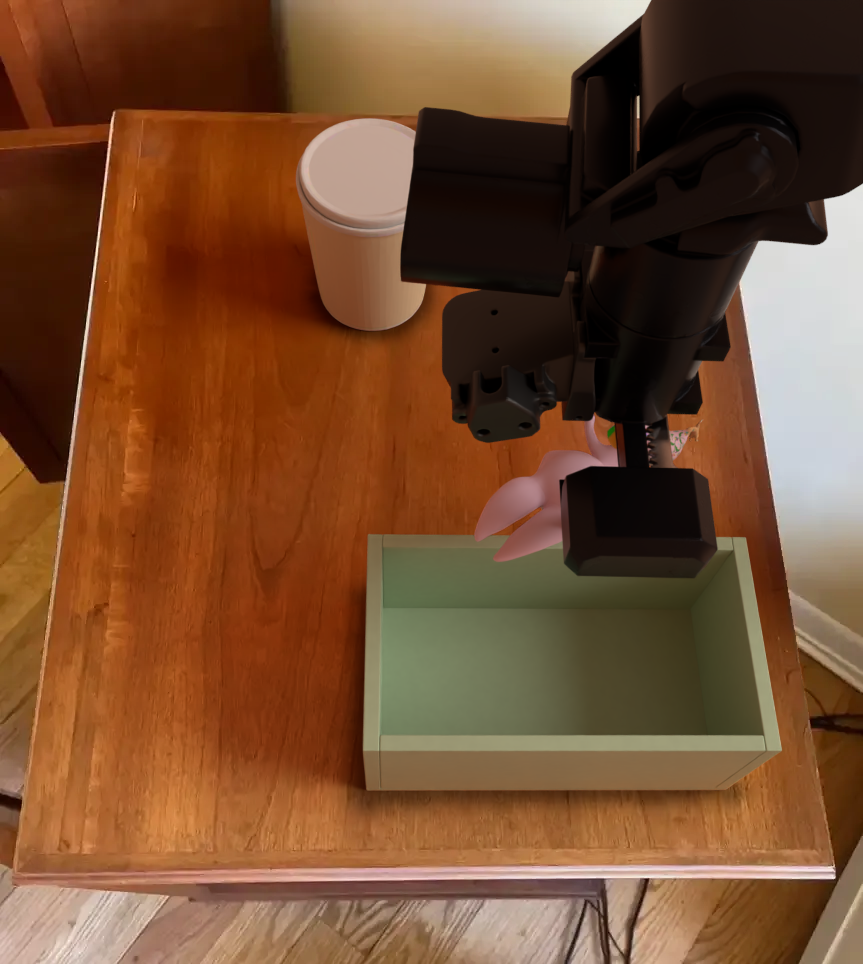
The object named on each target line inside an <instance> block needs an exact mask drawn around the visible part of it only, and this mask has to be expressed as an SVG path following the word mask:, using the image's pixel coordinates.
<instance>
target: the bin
mask: <svg viewBox="0 0 863 964" xmlns="http://www.w3.org/2000/svg"><path fill="white" fill-rule="evenodd" d="M511 535H512V534H492V535H490V536H488V537H487V538H485V539H483V540H481V541H479V542H477V541H476V540H475V537H474V534H410V533H409V534H404V533H403V534H402V533H401V534H399V533H397V534H395V533H394V534H393V533H391V534H390V533H389V534H388V533H384V534H382V533H368V534H367V548H366V551H367V553H366V585H365V586H366V587H365V588H366V591H365V594H366V595H365V628H364V629H365V630H364V631H365V633H364V634H365V635H364V636H365V638H364V673H363V674H364V677H363V678H364V681H363V715H362V716H363V717H362V718H363V720H362V721H363V722H362V723H363V724H362V757H363V768H364V769H363V770H364V781H365V789H366V791H727V790H728V789H730V787H732V786H734V785H735V784H736V783H737V782H739V781H740V780H742V779H743V778H746V776H748V775H750V774H751V773H752V772H754V771H755V770H757V769H758V768H760V767H761V766H763V764H765V763H767V762H768V761H769V760H771V759H773V758H774V757H775V756H777V755H778V754H780V753H782V751H783V749H782V742H781V735H780V731H779V724H778V720H777V719H778V717H777V713H776V707H775V701H774V696H773V688H772V684H771V678H770V673H769V665H768V661H767V655H766V654H767V653H766V649H765V643H764V637H763V631H762V624H761V619H760V613H759V607H758V602H757V596H756V590H755V584H754V578H753V571H752V567H751V561H750V555H749V548H748V543H747V537H745V536H732V537H731V536H716V540H717V547H718V550H717V551H716V553H715V554H714V556H713V557H712V559H711V560H710V561H709V563H708V564H707V566H706V567H705V568H704V569H703V570H702V571H701V572H700V573H699V574H698V575H697V576H696V577H695V578H649V577H602V576H577V575H576V574H575V573H574V572H572V571H571V570H570V569H569V568H568V567H567V566H566V565H565V564H564V559H563V542H562V541H561V542H559V543H557V544H554V545H552V546H549V547H547V548H545V549H542V550H540V551H537V552H534V553H531V554H528V555H525V556H522V557H519V558H516V559H513V560H509V561H504V562H496V561H494V560H493V557H494V555H495V554H496V553H497V552H498V551H499V550H500V548H501V547H502V546H503V545H504V543H505V542H506V541H507V539H508V538H509V537H510V536H511Z"/></svg>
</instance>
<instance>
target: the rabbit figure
mask: <svg viewBox="0 0 863 964" xmlns="http://www.w3.org/2000/svg"><path fill="white" fill-rule="evenodd" d="M595 421H596V416H595V415H594V416H593V418H592V420H590V421H583V423H584V436H585V440H586V444H587V447H588V450H589V452H590V453H588V452H585V451H580V450H577V449H576V450H575V449H554V450H549V451H547V452H546V453H545V454H544V455H543V457H542V459H541V461H540V464H539V466H538V468H537V470H536V472H535V473H534V474H533V475H529V476H519V477H514V478H512V479H510V480H509V481H507V482H505V483H504V484H503V485H502V486H501V487H499V488H498V489H497V490H496V491H495V492H494V493H493V494H492V495H491V496H490V497H489V499H488V501H487V502H486V503H485V505H484V508H483V509H482V512H481V514H480V516H479V518H478V521H477V524H476V527H475V530H474V534H473V535H474V537H475V540H476V541H477V542H479V541H481V540H483V539H485V538H487V537H488V536H490V535H495V534H497V533H498V532H500V531H503V530H504V529H506V528H508V527H510V526H511V525H513V524H514V523H516V522H517V521H519V520H521V519H523V518H524V517H526V516H528V515H529V514H531V513H533V511H535V510H536V509H539V508H540V509H541V510H539V511H538V512H536V513H535V514H534V515H533V516H532V517H530V518H529V519H528V520H527V521H525V522H524V523H523V524H521V525H520V526H519V527H518V528H516V529H515V530H514V531H513V532H512V533H511V534H510V535H511V536H510V537H509V538H508V539H507V541H506V542H505V543H504V545H503V546H502V547H501V548H500V550H499V551H498V552H497V553H496V554H495V555H494V557H493V560H494V561H496V562H504V561H509V560H513V559H516V558H519V557H522V556H525V555H528V554H531V553H534V552H537V551H540V550H542V549H545V548H547V547H549V546H552V545H554V544H557V543H559V542H561V541H562V525H561V503H560V486H559V480H560V479H565V477H566V475H569V474H571V473H574V472H577V471H579V470H582V469H584V468H587V467H589V466H614V467H618V459H617V448H616V437H615V426H614V425H611V427H610V428H609V429H608V430H607V431H606V437H607V441H608V442H609V444H604V443H602V442H601V441H600V440H599V438H598V436H597V434H596V431H595ZM703 421H704V419H703V418H702V419H700V420H699V421H698V423H697V424H695V425H694V426H692V427H690V426H689V427H687V428H686V429H677V430H669V433H670V441H671V450H672V458H673V461H674V460H676V459H677V458H678V456H679V455H680V454H681V453H682V451H683V449H684V447H685V445H686V443H687V440H688V441H689V442H692V439H694V441H695V442H696V443H697V442H699V439H698V438H699V433H700V432H699V431H700V427H701V425H700V424H702V422H703ZM647 427H649V426H646V425H645V428H647ZM647 435H648V433H646V437H647ZM648 442H650V441H647V444H648ZM649 450H651V449H649V448H648V451H649ZM650 458H651V456H649V459H650ZM649 465H650V466H651V465H653V464H650V463H649Z"/></svg>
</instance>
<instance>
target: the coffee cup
mask: <svg viewBox="0 0 863 964" xmlns="http://www.w3.org/2000/svg"><path fill="white" fill-rule="evenodd" d="M415 134H416V130H413V128H410V127H408V126H406V125H403V124H401V123H399V122H396V121H393V120H388V119H383V118H354V119H349V120H345V121H342V122H339V123H336V124H334V125H331V126H329V127H328V128H325V129H324V130H323V131H321V132H320V133H319V134H317V135H316V136H315V137H314V138H313V139H312V140H311V141H310V142H309V143H308V144H307V146H306V147H305V149H304V151H303V153H302V155H301V156H300V158H299V161H298V162H297V163H298V164H297V166H296V172H295V185H296V190H297V194H298V197H299V200H300V203H301V206H302V207H301V208H302V214H303V218H304V219H303V220H304V223H305V229H306V235H307V239H308V244H309V248H310V253H311V258H312V263H313V269H314V272H315V278H316V283H317V288H318V291H319V295H320V299H321V301H322V304H323V306H324V307H325V309H326V310H327V312H328V313H329V315H331V316H332V318H334V319H335V320H336V321H338V322H340V323H341V324H343V325H345V326H347V327H350V328H352V329H355V330H359V331H360V330H361V331H366V332H377V331H384V330H389V329H392V328H395V327H398V326H401V325H402V324H404V323H405V322H407V321H408V320H409V319H411V318H412V317H413V316H414V315H415V314H416V313H417V311H418V310H419V309H420V307H421V305H422V303H423V300H424V297H425V292H426V287H427V284H418V283H408V282H402V281H401V276H400V254H401V243H402V236H403V229H404V222H405V215H406V208H407V201H408V194H409V187H410V180H411V173H412V166H413V148H414V141H415Z"/></svg>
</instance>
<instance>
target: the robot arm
mask: <svg viewBox="0 0 863 964" xmlns="http://www.w3.org/2000/svg"><path fill="white" fill-rule="evenodd" d="M647 5H648V6H647V7H646V8H645V11H644V12H643V14H642V15H641V16H639V17H637V18H636V19H635V20H634V21H633V22H632V23H631V24H630V25H628V26H627V27H626V28H625V29H623V30H622V31H621V32H620V33H619V34H618V35H616V36H615V37H614V38H612V40H610V41H609V42H608V43H606V44H605V45H604V46H603V47H602V48H601V49H600V50H598V51H597V52H596V53H594V54H593V55H592V56H590V58H589V59H587V60H586V61H585V62H583V64H581V65H580V66H579V67H577V68H576V69H574V71H573V72H572V74H571V76H570V95H569V97H570V98H569V101H570V102H569V108H568V114H567V119H566V124H559V123H547V122H537V121H526V120H516V119H506V118H497V117H494V118H493V117H485V116H479V115H474V114H471V113H467V112H464V111H461V110H456V109H449V108H439V107H428V106H424V107H422V108H421V109H419V110H418V113H417V121H416V128H415V132H416V134H415V141H414V148H413V166H412V173H411V180H410V187H409V194H408V201H407V208H406V215H405V222H404V229H403V236H402V243H401V254H400V276H401V281H402V282H408V283H418V284H426V285H428V286H440V287H449V288H450V287H451V288H458V289H459V288H461V289H470V290H474V291H468V292H464V293H459V294H457V295H455V296H454V297H452V298H451V299H450V300H448V301H447V302H446V304H445V305H444V307H443V310H442V313H441V371H442V375H443V377H444V379H445V380H446V382H447V384H448V386H449V387H450V400H451V419H452V421H453V422H454V423H456V424H458V425H459V424H461V425H466V426H467V428H468V430H469V431H470V433H471V435H472V437H473V438H474V439H475V440H476V441H479V442H483V443H486V444H493V443H498V442H504V441H510V440H511V441H512V440H518V439H523V438H529V437H533V436H534V435H535V434H537V433H538V432H539V431H540V430H541V416H542V415H543V413H545V412H547V411H551V410H554V409H555V408H556V407H557V406H558V403H561V420H562V421H564V422H565V421H566V422H584V421H590V420H592V418H593V416H595V415H596V416H597V417H599V418H600V419H603V420H604V421H606V422H610V423H613V426H615V437H616V448H617V459H618V467H614V466H589V467H587V468H584V469H582V470H579V471H577V472H574V473H571V474H569V475H566V477H565V479H560V480H559V486H560V503H561V525H562V542H563V559H564V564H565V565H566V566H567V567H568V568H569V569H570V570H571V571H572V572H574V573H575V574H576V575H577V576H602V577H649V578H695V577H696V576H697V575H698V574H699V573H700V572H701V571H702V570H703V569H704V568H705V567H706V566H707V564H708V563H709V561H710V560H711V559H712V557H713V556H714V554H715V553H716V551H717V550H718V547H717V540H716V537H717V533H716V528H715V527H716V526H715V520H714V519H715V518H714V512H713V506H712V505H713V504H712V497H711V490H710V484H709V478H708V477H706V476H705V475H703V474H701V473H700V472H699V471H697V470H696V469H694V468H693V467H692V468H690V467H678V466H676V465H675V464H674V460H673V458H672V450H671V441H670V433H669V431H670V426H669V418H668V415H687V416H688V415H691V416H692V415H693V416H697V415H698V413H699V411H700V409H701V408H702V405H703V403H704V402H703V393H702V386H701V379H700V371H699V370H700V368H701V366H702V363H703V362H725V360H726V357H727V355H728V354H729V351H730V350H731V339H730V333H729V327H728V321H727V315H726V312H727V310H728V308H729V305H730V303H731V300H732V299H733V297H734V295H735V293H736V290H737V288H738V286H739V284H740V281H741V280H742V277H743V275H744V274H745V272H746V269H747V267H748V265H749V263H750V260H751V259H752V256H753V254H754V252H755V250H756V248H757V246H758V244H759V242H773V243H785V244H794V245H795V244H796V245H805V246H818V245H822V244H823V243H824V242H826V241H827V239H828V237H829V231H828V222H827V213H826V206H825V205H826V204H825V200H830V199H833V198H839V197H842V196H844V195H846V194H849V193H851V192H852V191H854V190H855V189H857V188H858V187H860V186H861V185H863V0H650V1H649V4H647ZM638 126H639V127H638ZM638 129H639V130H638ZM638 131H639V132H638ZM638 144H639V145H638ZM645 425H646V426H649V427H647V428H645ZM646 433H648V435H647V437H646ZM647 441H650V442H648V444H647ZM648 448H649V449H651V450H649V451H648ZM649 456H651V458H650V459H649ZM649 463H650V464H653V465H651V466H650V465H649Z"/></svg>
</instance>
